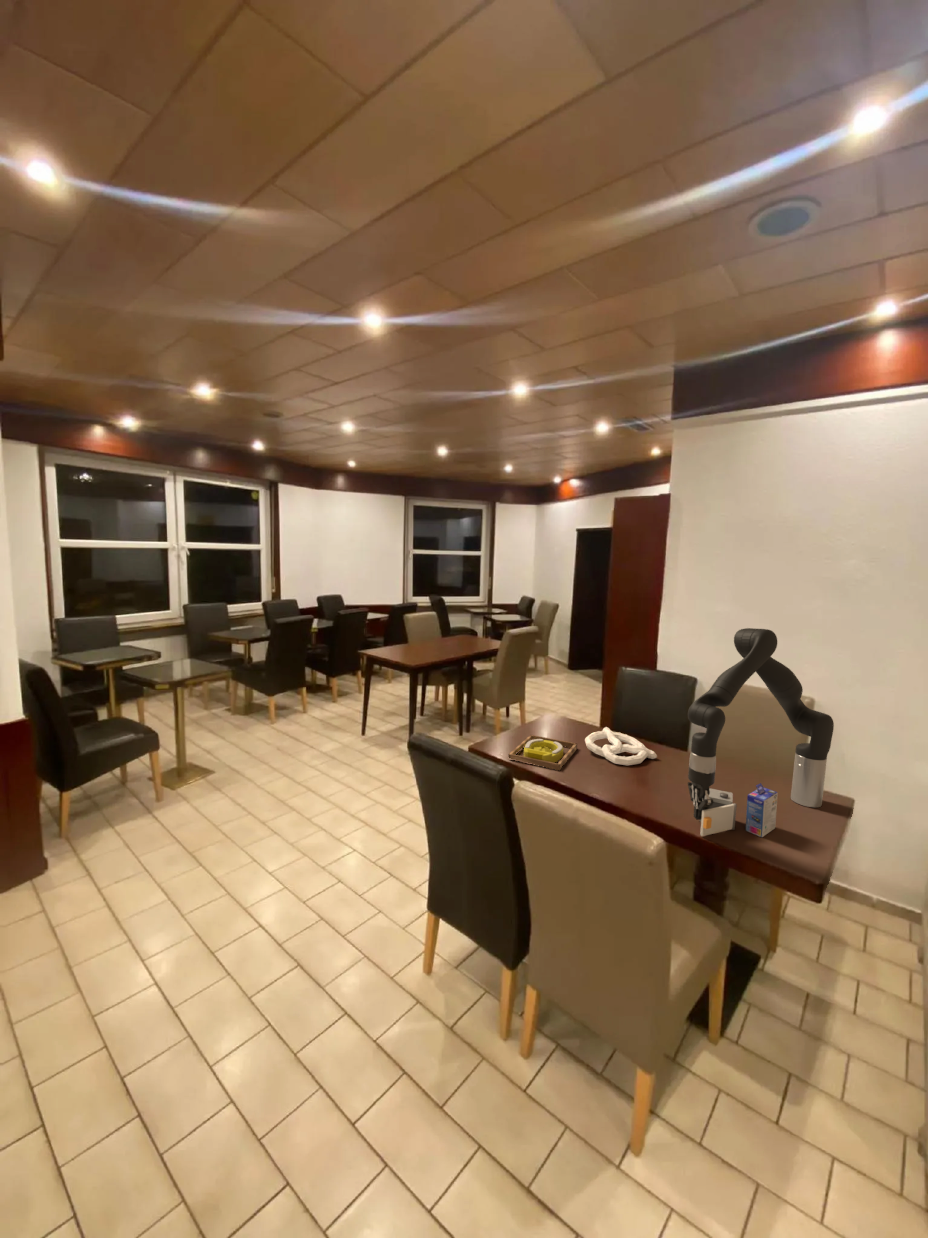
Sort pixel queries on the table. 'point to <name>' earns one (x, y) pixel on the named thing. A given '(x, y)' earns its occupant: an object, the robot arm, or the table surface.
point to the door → (718, 819)
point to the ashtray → (543, 750)
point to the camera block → (720, 798)
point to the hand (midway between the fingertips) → (698, 818)
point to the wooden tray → (540, 762)
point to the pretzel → (618, 747)
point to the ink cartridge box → (761, 811)
